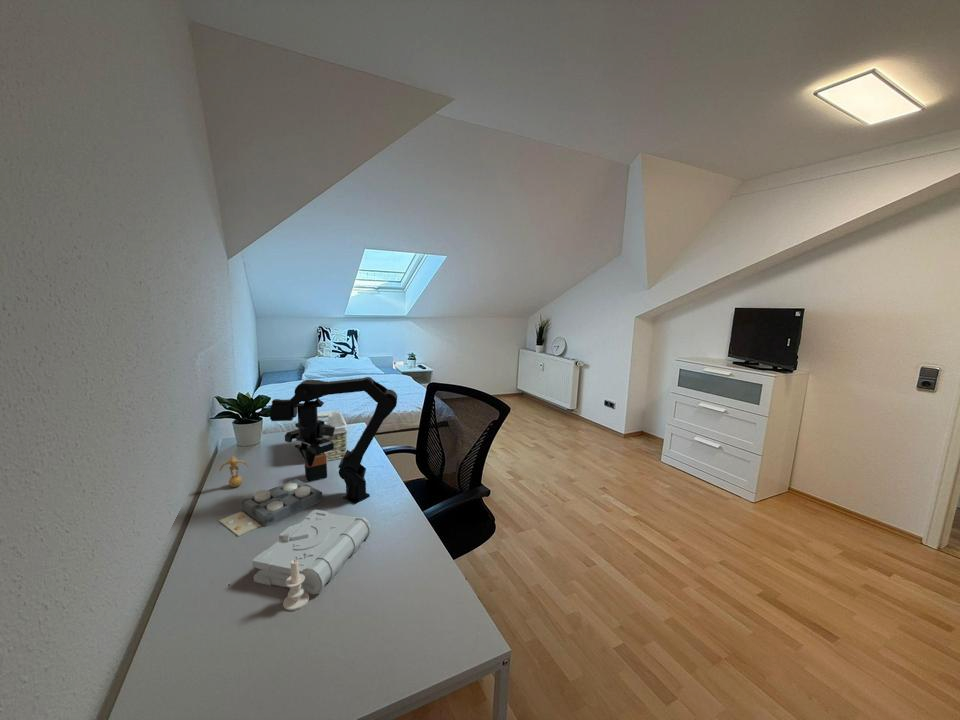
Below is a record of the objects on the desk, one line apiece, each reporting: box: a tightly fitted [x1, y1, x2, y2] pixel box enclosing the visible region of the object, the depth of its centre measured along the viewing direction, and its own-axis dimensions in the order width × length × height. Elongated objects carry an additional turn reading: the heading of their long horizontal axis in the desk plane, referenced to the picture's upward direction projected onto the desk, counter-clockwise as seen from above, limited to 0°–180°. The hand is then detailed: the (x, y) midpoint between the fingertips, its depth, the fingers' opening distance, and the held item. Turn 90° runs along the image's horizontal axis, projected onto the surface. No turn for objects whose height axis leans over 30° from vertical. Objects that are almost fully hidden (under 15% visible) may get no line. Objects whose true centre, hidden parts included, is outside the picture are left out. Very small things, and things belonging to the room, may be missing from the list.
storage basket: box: [317, 410, 348, 462], centre depth 164 cm, size 24×16×15 cm
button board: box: [241, 478, 324, 527], centre depth 123 cm, size 15×18×3 cm
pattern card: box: [219, 511, 261, 537], centre depth 112 cm, size 12×6×1 cm, turn 56°
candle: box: [282, 559, 310, 612], centre depth 84 cm, size 5×5×10 cm
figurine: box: [219, 455, 249, 488], centre depth 132 cm, size 8×6×12 cm
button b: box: [283, 483, 298, 492], centre depth 128 cm, size 4×4×2 cm
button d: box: [253, 489, 271, 503], centre depth 121 cm, size 4×4×2 cm
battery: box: [304, 453, 328, 483], centre depth 141 cm, size 4×7×10 cm, turn 127°
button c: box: [267, 501, 283, 512], centre depth 117 cm, size 4×4×2 cm
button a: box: [295, 486, 310, 499], centre depth 124 cm, size 4×4×2 cm
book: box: [251, 509, 372, 596], centre depth 101 cm, size 19×28×8 cm
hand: (310, 466), depth 124 cm, fingers closed
